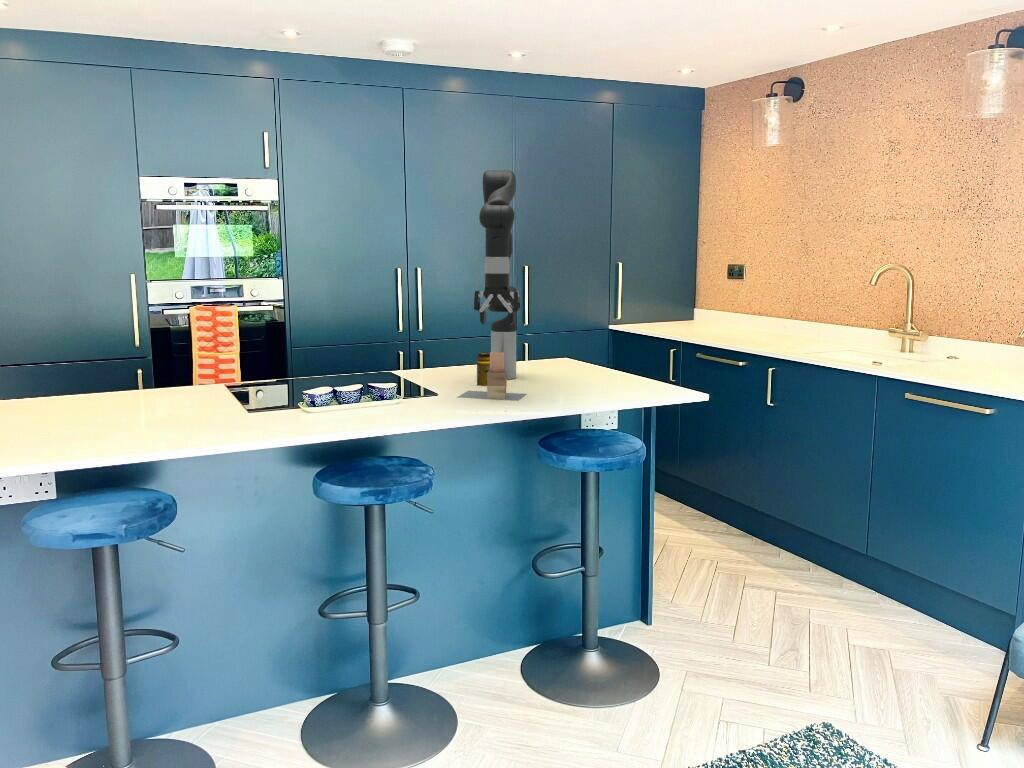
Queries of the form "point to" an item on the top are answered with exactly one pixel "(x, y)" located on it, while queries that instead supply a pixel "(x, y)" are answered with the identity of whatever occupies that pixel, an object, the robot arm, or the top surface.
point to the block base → (496, 392)
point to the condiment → (482, 368)
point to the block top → (496, 379)
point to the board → (484, 396)
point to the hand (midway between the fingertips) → (497, 324)
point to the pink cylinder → (496, 362)
